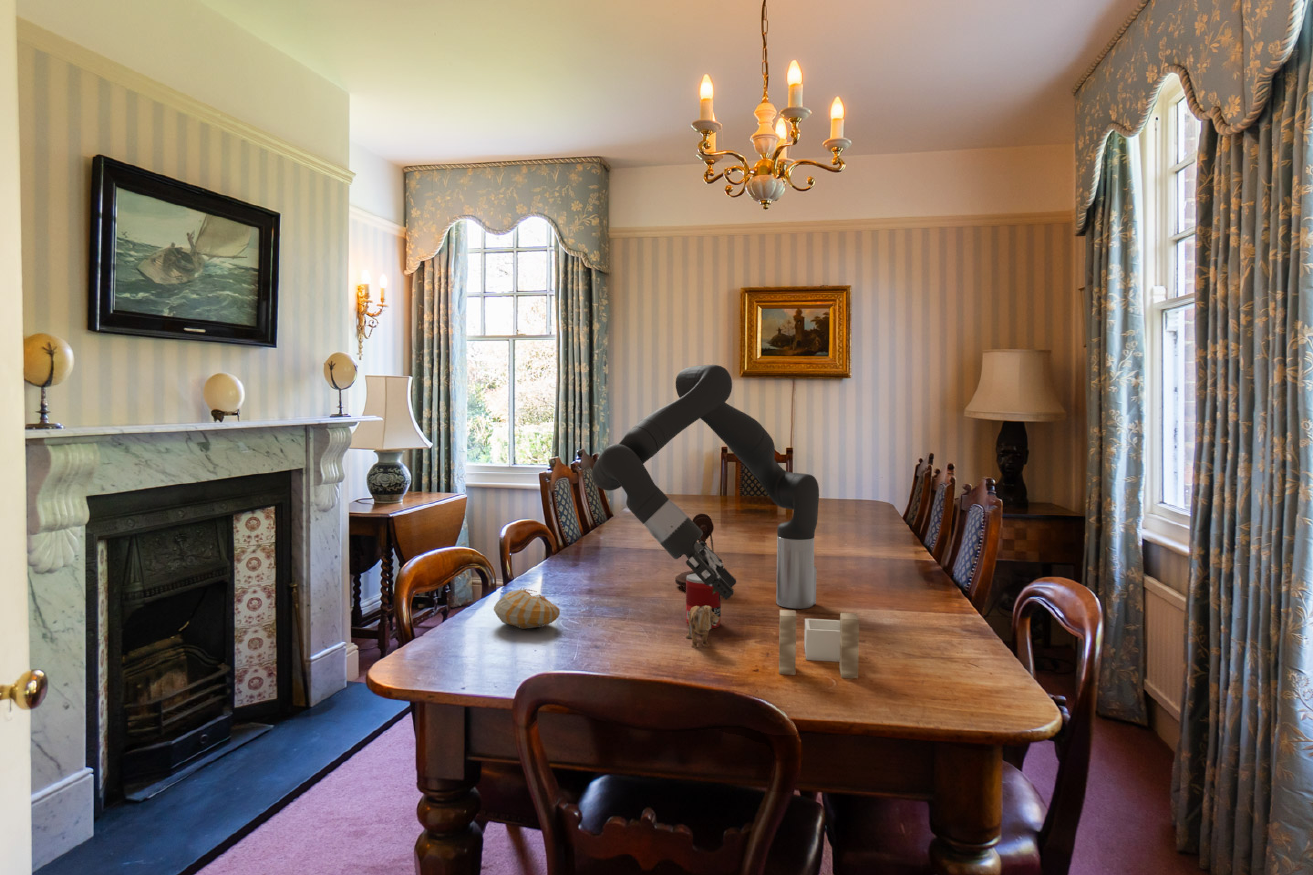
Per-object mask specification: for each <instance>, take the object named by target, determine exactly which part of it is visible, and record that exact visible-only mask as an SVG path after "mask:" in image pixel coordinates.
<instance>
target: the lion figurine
mask: <svg viewBox="0 0 1313 875" xmlns="http://www.w3.org/2000/svg"><path fill="white" fill-rule="evenodd" d="M711 609H712V608H711V607H710V606H702V607H699V606H694V607H692V608H691V610H690V612H689V625H688V628H687V630H688V631H687V634H686V635H685V638H686V639H692V643H691V648H695V647H696V648H697V647H698V641H697V635H702V641H701V643H702V646H703V647H709V646H710V643H709V642H708V635H709V631H710V630H711V629H712V628H711V624H712V625H714V626H716V625H717V622H718V620H719V619H720V618H719V617H718V616H717V615H715V613H714V612H712V610H711Z"/></svg>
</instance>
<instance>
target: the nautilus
mask: <svg viewBox="0 0 1313 875" xmlns="http://www.w3.org/2000/svg"><path fill="white" fill-rule="evenodd" d="M530 591H531V592H530ZM533 592H535V593H537V591H536V590H534V589H533V590H532V589H527V588H526V589H525V587H523V589H517V590H510V591H508V592H507V593H505V594H504V595H503V596H502V597H501V598H500V599H499V600H498V601H497V602H496V604H495V605H494V606H493V611H494V612H495V614H496V617H498V619H499V620H500V621H501V623H504V624H507V625H511V626H514V627H516V628H519V629H522V630H523V629H533V628H540V629H541V628H542V627H544V626H545V625H546V626H547V625H549V624H552V623H553V622H555V621H556V620H557V619H558V618H559V617H560V614H561V610H560V608H559V607H558V606H557V605H556V604H554V603H552V602H551V601H549V600H548V598H546V597H545V596H543V595H541V594H536V595H531V594H533Z"/></svg>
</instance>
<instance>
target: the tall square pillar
mask: <svg viewBox="0 0 1313 875" xmlns="http://www.w3.org/2000/svg"><path fill="white" fill-rule="evenodd" d="M778 630H779V634H778V635H779V638H778V645H779V646H778V674H779V675H791V676H792V675H793V676H795V675H796V669H797V667H796V666H797V665H796V664H797V663H796V661H797V660H796V659H797V658H796V657H797V611H796V610H792V609H789V610H788V609H779V628H778Z"/></svg>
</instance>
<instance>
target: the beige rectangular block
mask: <svg viewBox="0 0 1313 875" xmlns="http://www.w3.org/2000/svg"><path fill="white" fill-rule="evenodd" d="M859 618H860V617H859V616H858V614H857V613H854V612H851V613H850V612H849V613H848V612H840V618H839V620H840V661H839V662H838V663H839V668H838V669H839V674H841V675H840V678H841V679H853V678H857V680H858V679H859V654H860V653H859V651H860V650H859V649H860V648H859V646H860V644H859V642H860V641H859V639H860V619H859Z"/></svg>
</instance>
